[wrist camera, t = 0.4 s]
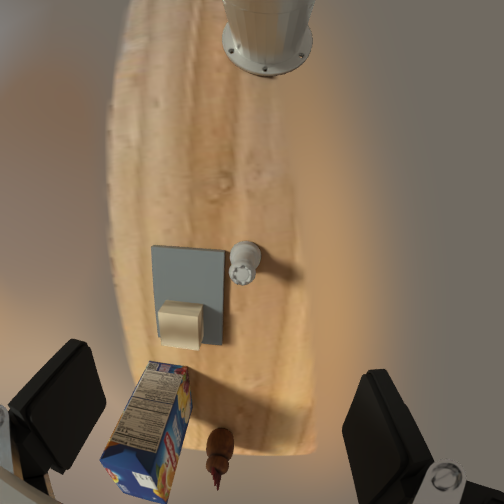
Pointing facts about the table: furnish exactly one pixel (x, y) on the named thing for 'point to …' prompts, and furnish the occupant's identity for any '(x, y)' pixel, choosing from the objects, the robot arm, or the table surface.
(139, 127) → the table surface
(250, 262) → the rook chess piece
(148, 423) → the juice carton
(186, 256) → the plate
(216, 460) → the wooden figurine
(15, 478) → the robot arm
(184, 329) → the beech block
